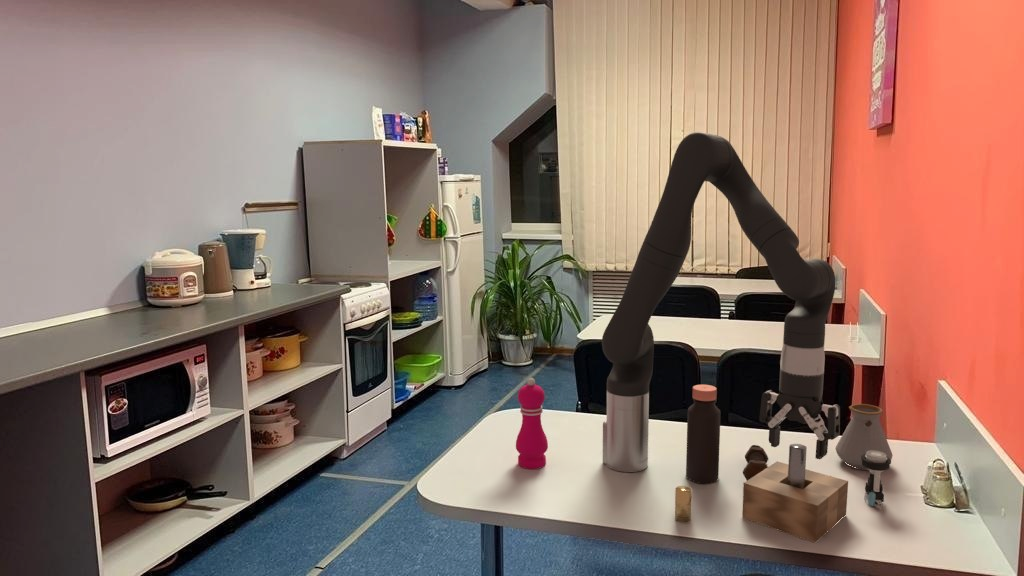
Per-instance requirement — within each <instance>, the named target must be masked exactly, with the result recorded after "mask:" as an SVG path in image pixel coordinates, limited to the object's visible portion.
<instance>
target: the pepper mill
mask: <svg viewBox="0 0 1024 576" xmlns="http://www.w3.org/2000/svg"><path fill="white" fill-rule="evenodd" d="M526 382H527V384H525V385H522V387H521V388H520V389H519V390H518V393H517V400H518V403H519V404H520V406H519V407H520V410H519V411H520V414H521V416H522V421H521V426H520V430H519V431H518V434H517V437H516V440H515V449H516V451H517V452H518V454H519V455H517V463H518V466H519V467H520V468H523V469H525V470H538V469H541V468H543V467H546V466H545V465H546V464H547V456H546V455H545V454H546V452H547V451H548V449H549V446H548V445H549V444H548V438H547V435H546V433H545V431H544V428H543V424H542V420H541V417H542V413H543V411H544V410H543V405H542V404H543V403H544V402H545V399H546V396H545V394H546V393H545V391H544V390H543V388H542V387H541V386H540V385H537V384H536V379H534V378H533V377H530V378H528V379H527V381H526Z"/></svg>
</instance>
